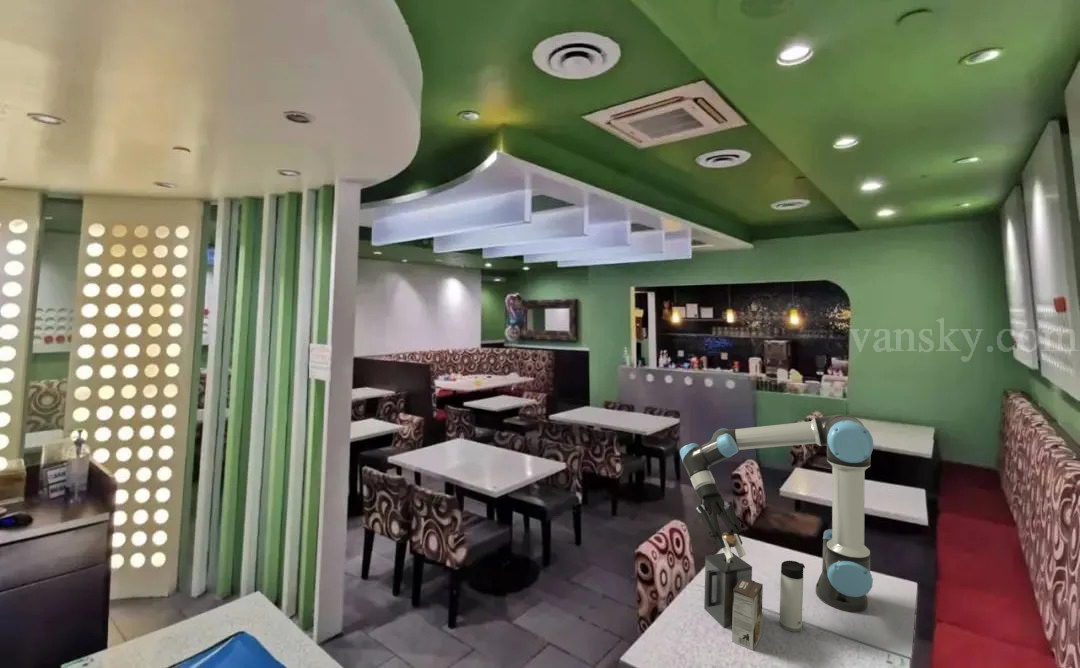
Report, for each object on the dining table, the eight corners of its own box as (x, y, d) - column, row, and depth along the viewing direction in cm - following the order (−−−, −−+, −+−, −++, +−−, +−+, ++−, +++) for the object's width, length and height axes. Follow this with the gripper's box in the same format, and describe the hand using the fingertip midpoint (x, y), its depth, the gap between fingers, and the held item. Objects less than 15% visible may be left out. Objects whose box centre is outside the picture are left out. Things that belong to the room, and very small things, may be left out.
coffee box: (740, 626, 151) (741, 576, 151) (762, 635, 147) (763, 583, 146) (730, 641, 144) (732, 588, 143) (753, 651, 140) (755, 597, 139)
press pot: (729, 603, 163) (731, 551, 162) (750, 622, 153) (752, 566, 152) (697, 610, 159) (698, 556, 158) (716, 629, 150) (718, 572, 149)
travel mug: (805, 633, 148) (807, 570, 147) (782, 630, 149) (784, 567, 148) (799, 621, 154) (801, 559, 153) (776, 618, 155) (778, 557, 154)
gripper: (721, 489, 172) (752, 557, 157) (679, 494, 167) (708, 565, 152) (731, 479, 167) (765, 549, 152) (688, 484, 162) (719, 556, 147)
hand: (736, 557), depth 152 cm, fingers closed on plunger, 4 cm apart
